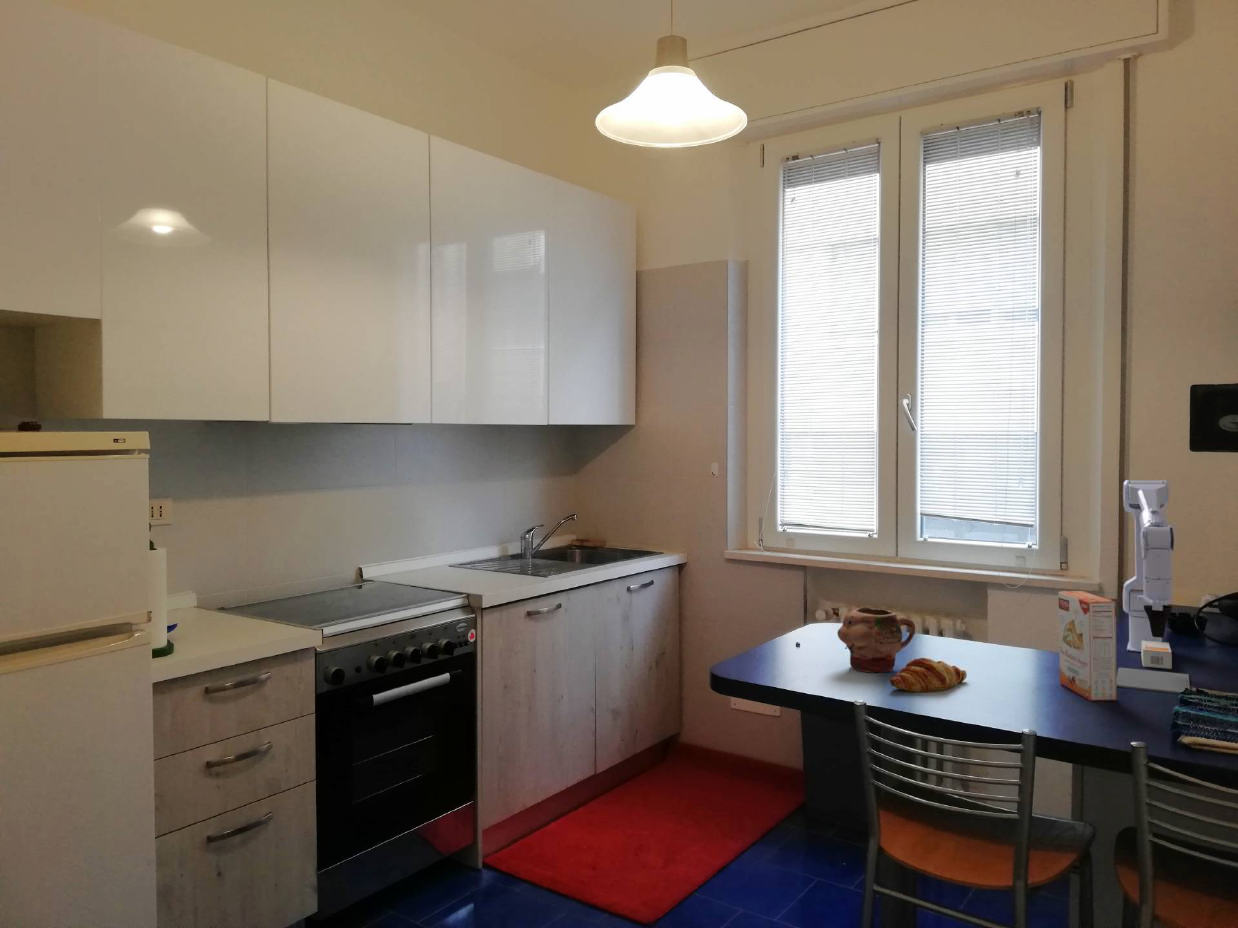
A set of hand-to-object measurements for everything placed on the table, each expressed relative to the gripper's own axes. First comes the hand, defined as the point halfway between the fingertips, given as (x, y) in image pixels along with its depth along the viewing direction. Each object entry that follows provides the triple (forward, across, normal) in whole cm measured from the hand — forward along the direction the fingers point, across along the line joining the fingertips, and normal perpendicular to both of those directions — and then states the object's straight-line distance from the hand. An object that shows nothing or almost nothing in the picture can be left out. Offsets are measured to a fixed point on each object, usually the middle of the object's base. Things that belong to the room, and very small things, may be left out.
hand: (1157, 636), depth 210 cm
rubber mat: (+8, +9, -1) cm, 12 cm away
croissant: (+9, +37, -43) cm, 57 cm away
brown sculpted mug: (+9, +25, -58) cm, 64 cm away
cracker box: (+9, +26, -13) cm, 30 cm away
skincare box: (+6, -5, 0) cm, 8 cm away
